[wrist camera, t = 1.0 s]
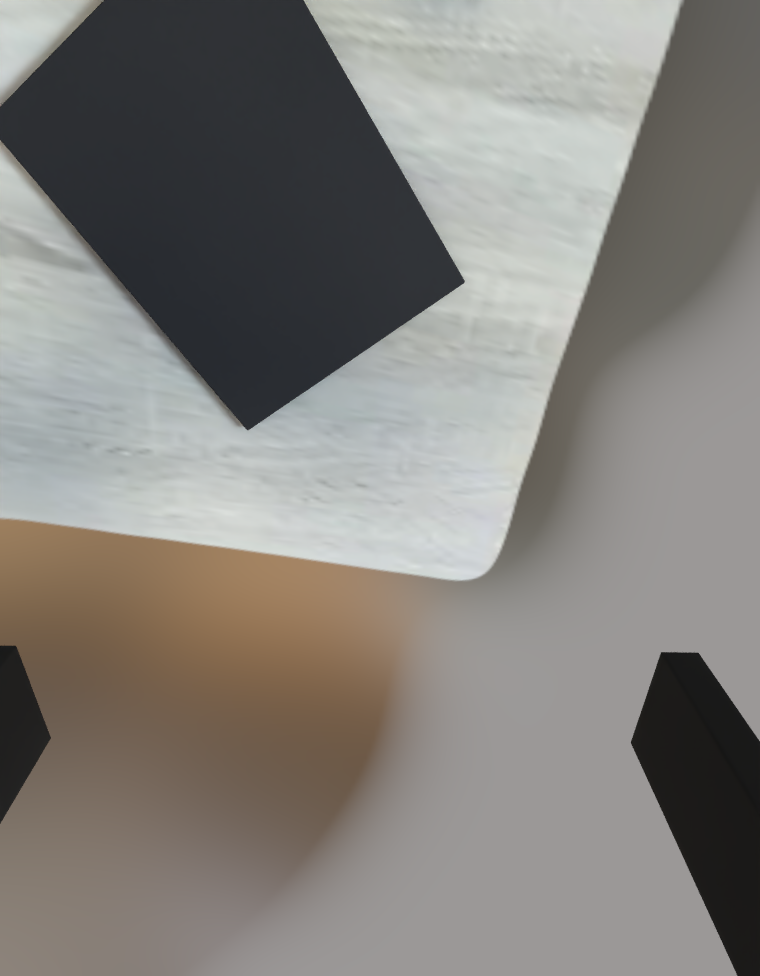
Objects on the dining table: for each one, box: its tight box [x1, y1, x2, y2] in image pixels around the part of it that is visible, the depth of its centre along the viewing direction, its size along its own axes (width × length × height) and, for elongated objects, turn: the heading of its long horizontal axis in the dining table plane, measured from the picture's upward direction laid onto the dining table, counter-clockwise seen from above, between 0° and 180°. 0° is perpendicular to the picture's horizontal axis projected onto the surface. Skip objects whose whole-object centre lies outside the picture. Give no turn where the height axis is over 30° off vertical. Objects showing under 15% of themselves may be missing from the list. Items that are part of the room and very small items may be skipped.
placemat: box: [0, 0, 465, 430], centre depth 30 cm, size 20×16×1 cm
